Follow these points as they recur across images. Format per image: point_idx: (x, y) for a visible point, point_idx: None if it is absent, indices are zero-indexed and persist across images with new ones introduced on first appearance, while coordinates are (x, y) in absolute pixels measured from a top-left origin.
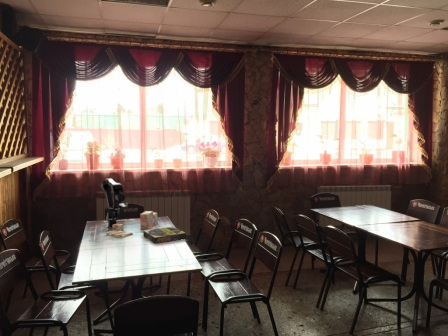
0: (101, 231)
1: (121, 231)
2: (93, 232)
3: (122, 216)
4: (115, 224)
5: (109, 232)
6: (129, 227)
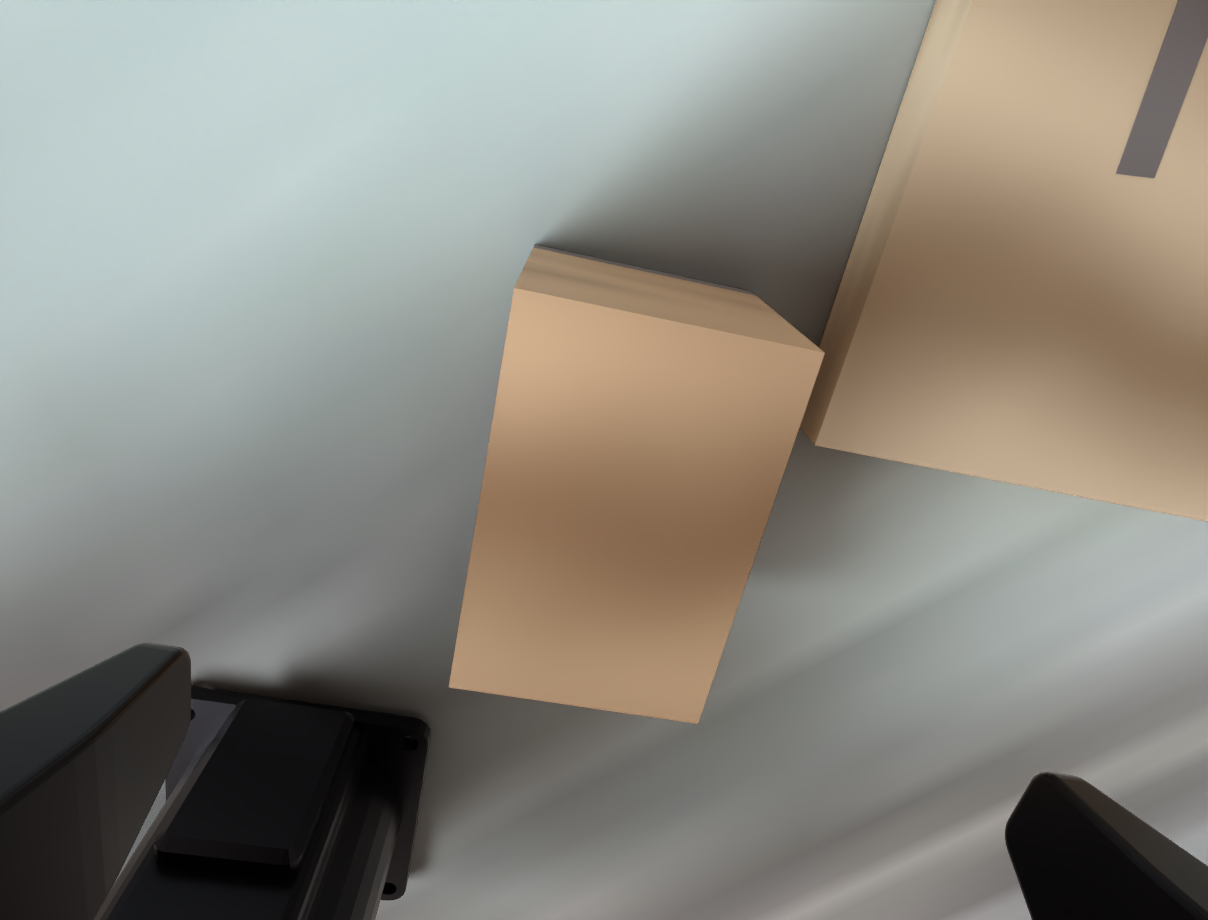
0: (811, 793)
1: (1036, 27)
2: (938, 889)
3: (69, 724)
4: (626, 641)
5: (1204, 435)
6: (8, 281)
